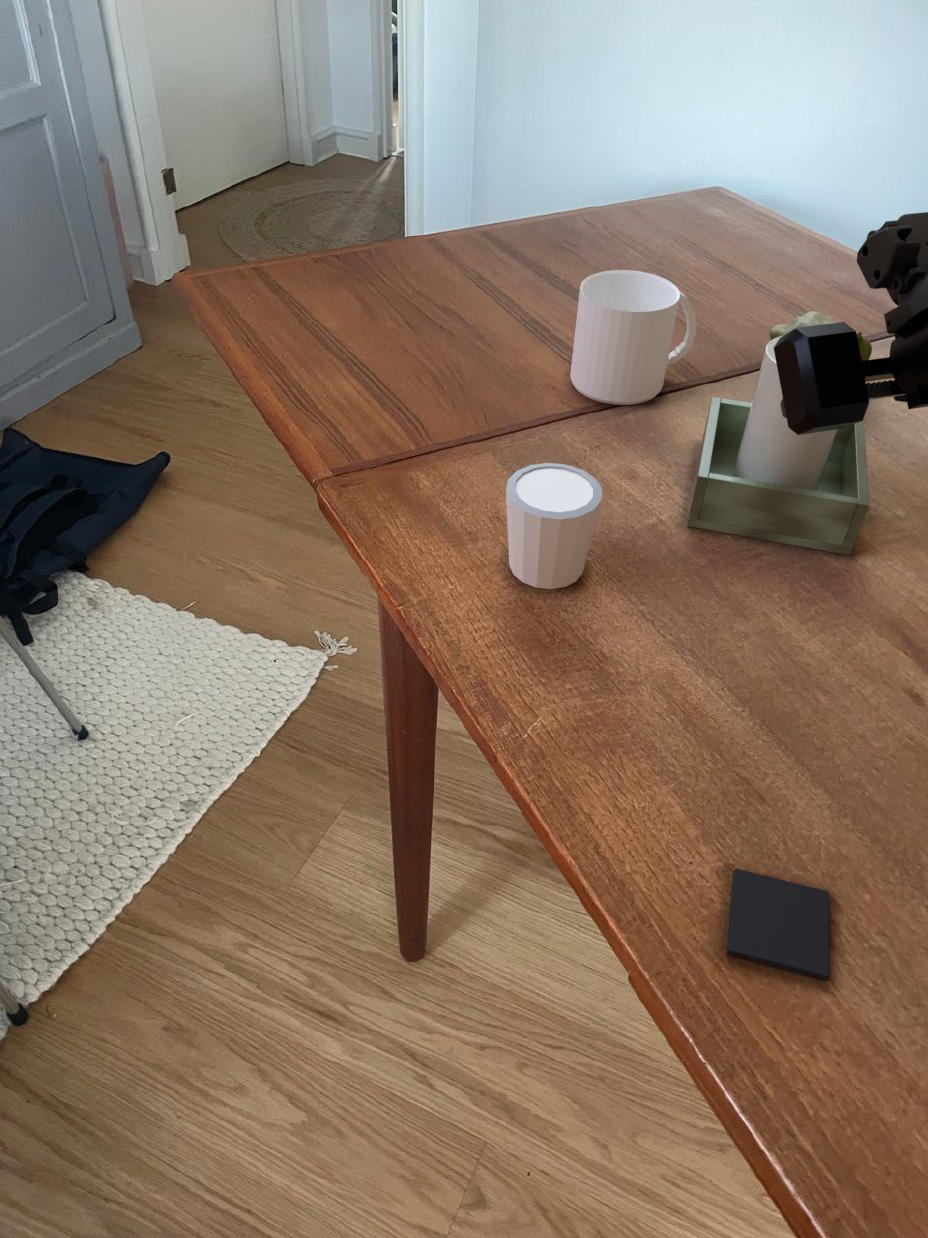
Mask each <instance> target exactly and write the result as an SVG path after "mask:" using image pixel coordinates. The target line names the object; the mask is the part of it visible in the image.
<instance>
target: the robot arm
mask: <svg viewBox="0 0 928 1238" xmlns="http://www.w3.org/2000/svg"><path fill="white" fill-rule="evenodd" d="M856 254H857V255H856V263H857V265H858V268H859V269H860V271H861V273H862V276H863V277H864V280H865V282H866V284H867V285H868V287H869V288H870V289H872V290H877V289H879V290H880V289H886V291H887V294H888V295H889V298H890V299H891V301H892V302H893V303H894V304H895V305H896V307H894V308H892V309H891V310H889V311H888V312H886V313H884V314H883V318H884V322H885V330H886V333H887V335H893V334H894V335H893V336H894V340H892V341H891V343H890V347H889V355H888V357H880V358H873V359H871V358H870V359H869V360H864V361H862V360H861V354H860V349H859V344H858V338H857V333H856V332H857V331H856V330H855V329H854V328H853V327H851V325H849V324H848V323H846V322H845V321H840V322H838V323H831V324H822V325H814V326H806V327H797V328H795V329H793V330H792V331H790V332H788V333H787V334H785V335H784V336H782V337H780V338H779V340H778V341H777V343H776V345H775V346H774V353H775V359H776V364H777V369H778V375H779V380H780V385H781V391H782V396H783V399H782V401H781V410H782V415H783V417H785V418H787V423H788V428H790V429H791V430H792V431H793V432H795V433H796V434H797V435H802V434H809V433H816V432H822V431H829V430H835V429H842V428H844V427H847V426H851V425H854V424H856V423H859V422H861V421H864V418H865V416H866V413H867V411H868V407H869V404H870V401H873V400H880V399H886V398H893V399H894V401H895V402H900V403H902V402H903V403H906V404H907V409H908V410H915V409H920V408H927V407H928V211H926V212H925V211H924V212H915V213H905V214H902V215H900V216H899V217H898V218H897V219H896V220H895V219H894V220H886V221H885V222H884V223H883V224H882V226H880V227H879V228H878V229H875V230H874V229H873V230H870V231H869V232H868V233H867V235H866V239H865V241H864V242H863V244H862V245H861V246H860V248H859V249H858V251H857V253H856ZM888 379H889V380H888ZM882 380H883V381H882ZM876 381H877V382H876Z"/></svg>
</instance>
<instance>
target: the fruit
mask: <svg viewBox="0 0 928 1238" xmlns="http://www.w3.org/2000/svg"><path fill="white" fill-rule="evenodd" d="M831 323H839V322H838V321H836V320H835V318H834V316H831V315H825V314H823V313H821V312H819V311H813V310H811V311H808V312H807V313H805V314H803V315H798V316H796V317H795V318H794V319H792V320H791V321H790V322H789V323H787V324H784V323H778V324H776V325H774V326H771V327H770V329H769V342H770V341H771V340H773V339H775V338H777V337H780V336H784V335H785V334H787V333H788V332H790V331H792V330H793V329H795V328H797V327H806V326H814V325H822V324H831ZM856 333H857V338H858V344H859V349H860V354H861V360H862V361H864V360H870V359H871V356H872V353H873V345H872V342H871V341H870V340H868V339H866V338H864V337H863V336H862V335H863V331H861V330H859V331H856Z"/></svg>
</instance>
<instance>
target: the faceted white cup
mask: <svg viewBox="0 0 928 1238" xmlns="http://www.w3.org/2000/svg"><path fill="white" fill-rule="evenodd" d="M602 500H603V488H602V486H601V485H600V483H599V482H598V480H597V478H595V476H593V475H592V474H589V473H588V472H587V471H585V470H583V469H582V468H578V467H575V466H572V465H569V464H565V463H564V464H563V463H554V462H544V463H535V464H529V465H527V466H525V467H522V468H519V469H518V470H516V471H514V473H513V474H512V475H511V476H510V477H509V478H508V479H507V482H506V488H505V503H506V504H505V505H506V522H507V546H508V565H509V569H510V571H511V572H512V574H513V576H514V577H515V578H517V579H518V580H519V581H521V582H522V583H523V584H526V585H528V586H531V587H533V588H536V589H545V590H555V589H560V588H561V589H562V588H566V587H569V586H570V585H572V584H574V583H576V582H577V581H578V580H579V579H580V577H581V576H582V574H583V573H584V570H585V565H586V562H587V558H588V553H589V550H590V547H591V543H592V539H593V535H594V531H595V527H596V523H597V520H598V516H599V511H600V508H601V504H602Z"/></svg>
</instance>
